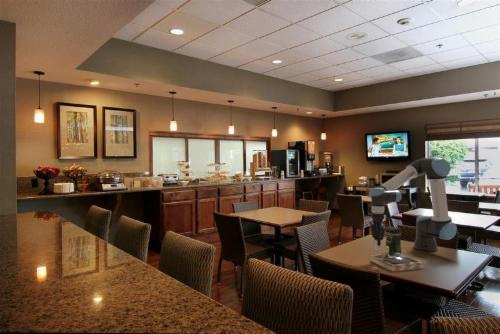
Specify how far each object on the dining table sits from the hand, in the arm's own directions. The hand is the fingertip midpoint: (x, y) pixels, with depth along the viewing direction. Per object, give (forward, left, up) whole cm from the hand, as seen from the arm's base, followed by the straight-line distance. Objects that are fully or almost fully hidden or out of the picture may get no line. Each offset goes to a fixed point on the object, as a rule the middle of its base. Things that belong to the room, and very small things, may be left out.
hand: (377, 250), depth 201 cm
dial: (-7, +8, -4) cm, 12 cm away
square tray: (-7, +8, -7) cm, 13 cm away
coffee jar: (-19, -9, -7) cm, 22 cm away
